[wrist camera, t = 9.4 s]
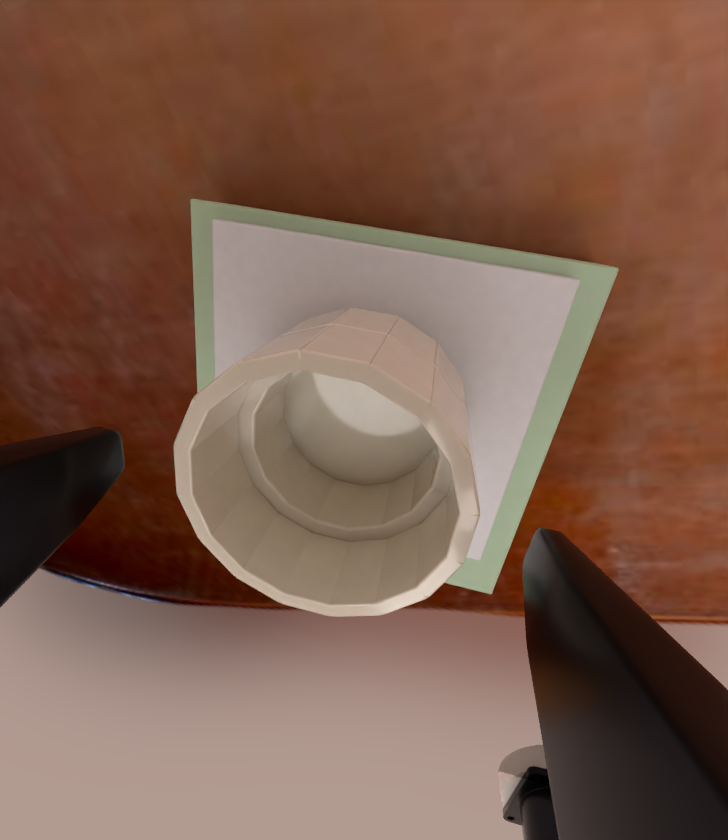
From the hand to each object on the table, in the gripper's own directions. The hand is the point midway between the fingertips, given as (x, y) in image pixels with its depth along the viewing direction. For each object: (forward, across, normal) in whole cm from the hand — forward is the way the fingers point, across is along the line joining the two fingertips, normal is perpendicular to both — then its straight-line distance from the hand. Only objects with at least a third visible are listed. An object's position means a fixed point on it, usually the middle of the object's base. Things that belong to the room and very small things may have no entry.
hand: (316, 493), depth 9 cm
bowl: (+5, 0, 0) cm, 5 cm away
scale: (+7, 0, +1) cm, 7 cm away
